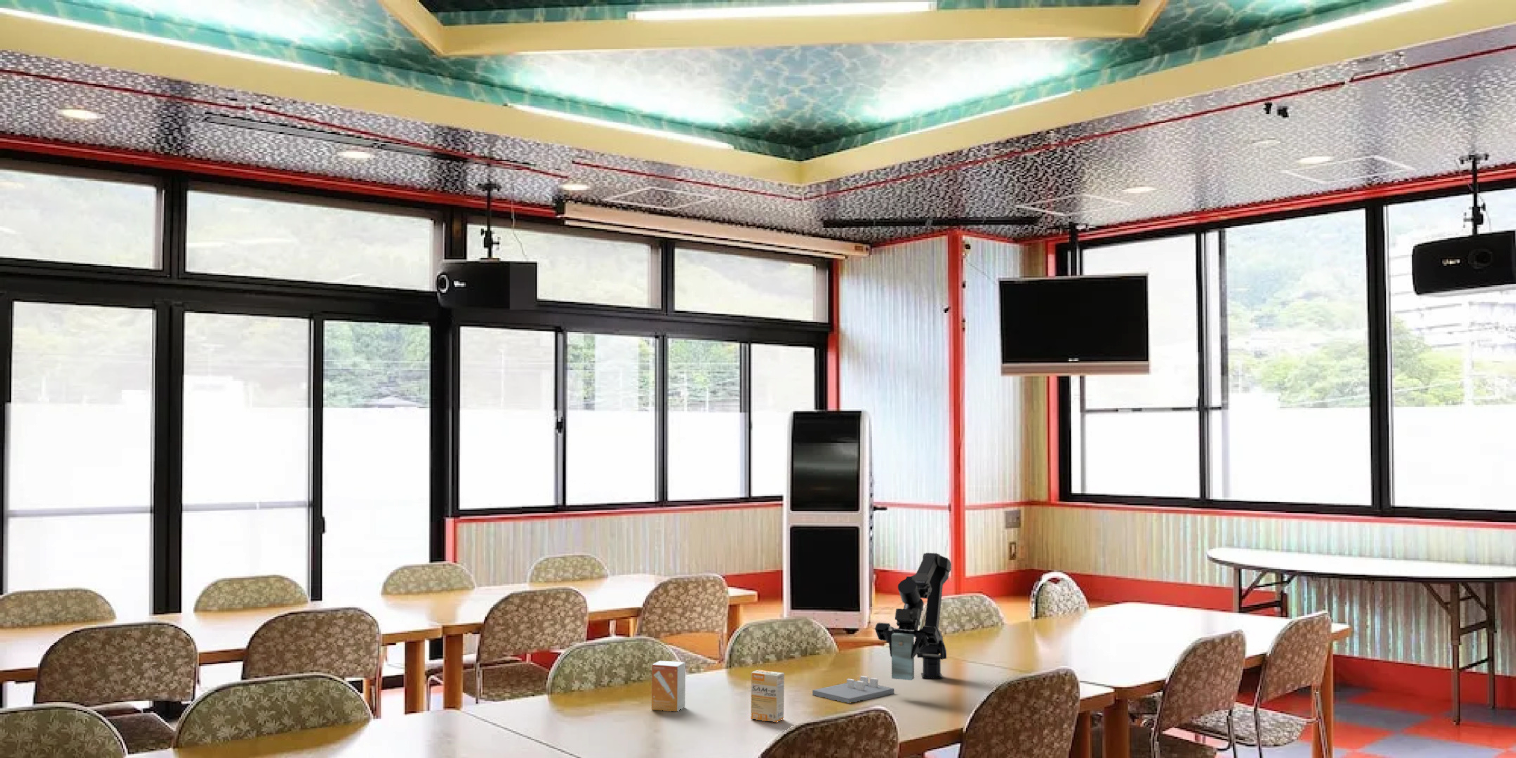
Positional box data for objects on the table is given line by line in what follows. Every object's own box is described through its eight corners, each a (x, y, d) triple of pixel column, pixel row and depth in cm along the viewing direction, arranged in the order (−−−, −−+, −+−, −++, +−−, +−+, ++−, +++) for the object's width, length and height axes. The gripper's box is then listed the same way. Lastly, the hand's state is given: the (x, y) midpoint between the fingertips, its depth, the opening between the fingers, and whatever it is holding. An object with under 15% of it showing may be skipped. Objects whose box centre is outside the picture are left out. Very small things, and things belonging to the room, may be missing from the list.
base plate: (857, 685, 364) (857, 672, 365) (894, 693, 353) (894, 680, 353) (812, 695, 351) (812, 681, 351) (848, 703, 340) (848, 689, 340)
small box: (651, 710, 332) (651, 664, 332) (659, 705, 338) (659, 660, 338) (677, 712, 329) (677, 665, 330) (685, 707, 335) (685, 661, 336)
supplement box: (750, 720, 320) (750, 672, 321) (758, 716, 325) (758, 669, 325) (776, 723, 317) (776, 675, 317) (784, 719, 321) (784, 671, 321)
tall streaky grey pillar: (894, 676, 350) (894, 632, 351) (914, 678, 348) (913, 634, 348) (890, 678, 347) (890, 634, 347) (910, 680, 344) (910, 636, 345)
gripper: (876, 595, 356) (865, 638, 345) (936, 599, 348) (926, 643, 338) (884, 618, 363) (873, 660, 352) (943, 622, 355) (934, 665, 345)
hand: (901, 656), depth 346 cm, fingers closed on tall streaky grey pillar, 6 cm apart
